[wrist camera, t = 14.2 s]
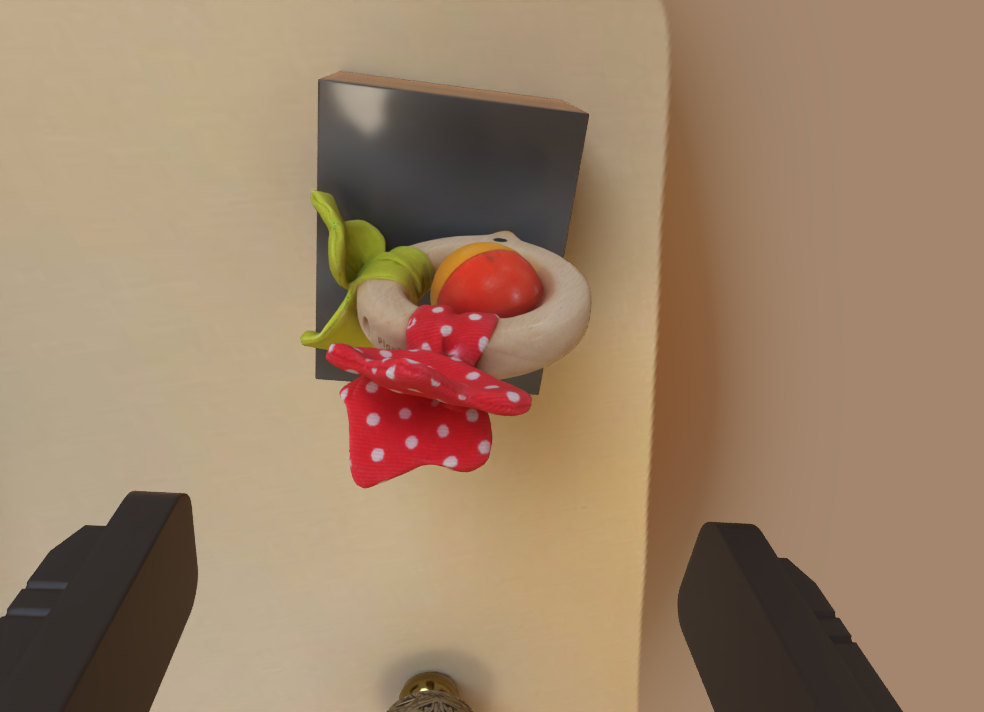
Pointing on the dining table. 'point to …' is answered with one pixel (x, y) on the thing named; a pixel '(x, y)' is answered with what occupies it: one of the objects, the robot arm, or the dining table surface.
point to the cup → (429, 695)
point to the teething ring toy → (440, 339)
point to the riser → (441, 172)
